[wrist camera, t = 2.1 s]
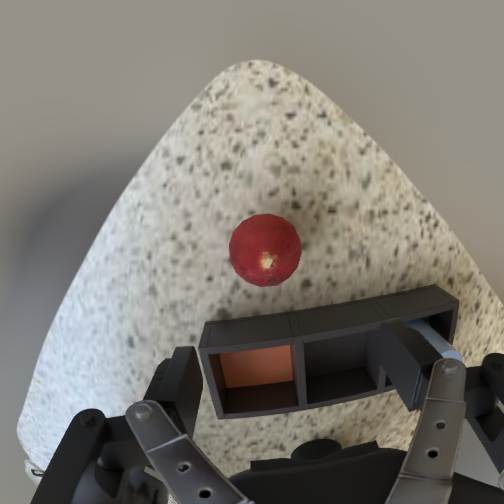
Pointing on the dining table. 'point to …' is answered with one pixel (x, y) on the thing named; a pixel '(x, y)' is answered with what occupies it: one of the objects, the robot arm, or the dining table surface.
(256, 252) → the onion
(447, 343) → the light blue cylinder
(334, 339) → the holder
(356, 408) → the dining table surface
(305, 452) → the wine bottle
